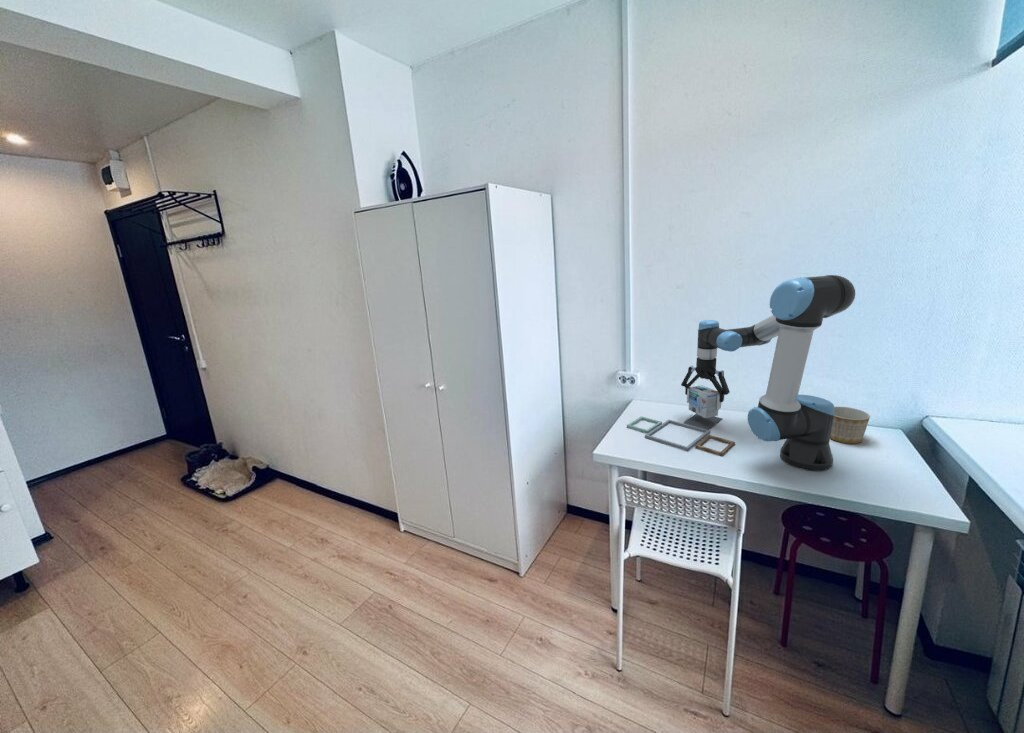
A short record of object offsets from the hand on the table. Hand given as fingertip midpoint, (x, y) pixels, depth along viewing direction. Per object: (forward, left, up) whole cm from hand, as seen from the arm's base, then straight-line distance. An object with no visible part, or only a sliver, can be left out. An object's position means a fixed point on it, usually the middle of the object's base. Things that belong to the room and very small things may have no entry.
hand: (703, 405), depth 176 cm
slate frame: (+2, +19, -8) cm, 21 cm away
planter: (-46, -17, -8) cm, 50 cm away
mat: (0, 0, -8) cm, 8 cm away
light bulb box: (0, 0, -4) cm, 4 cm away
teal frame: (+17, +19, -8) cm, 27 cm away
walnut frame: (-13, +19, -8) cm, 24 cm away
